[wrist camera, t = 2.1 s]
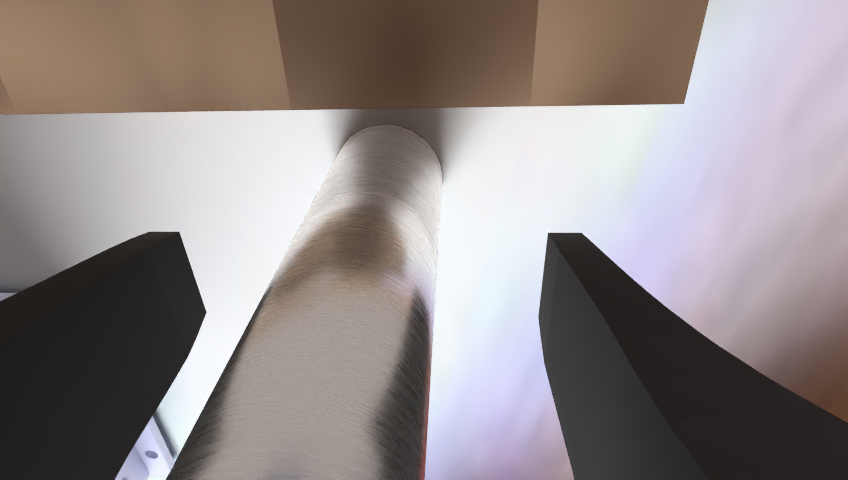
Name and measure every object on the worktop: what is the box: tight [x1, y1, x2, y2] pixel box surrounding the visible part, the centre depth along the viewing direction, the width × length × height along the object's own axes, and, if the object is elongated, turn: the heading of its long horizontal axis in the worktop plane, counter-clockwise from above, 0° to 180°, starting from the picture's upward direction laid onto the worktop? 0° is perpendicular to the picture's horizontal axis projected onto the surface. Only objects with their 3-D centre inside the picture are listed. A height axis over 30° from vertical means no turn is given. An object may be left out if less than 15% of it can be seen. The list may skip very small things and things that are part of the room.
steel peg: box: [166, 125, 442, 480], centre depth 10 cm, size 3×3×10 cm
